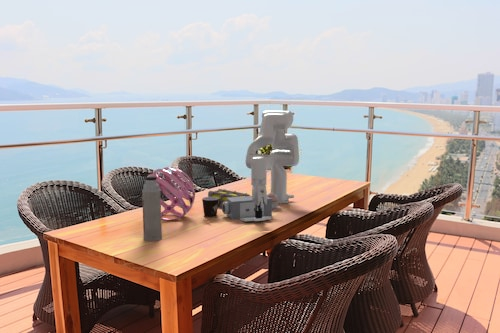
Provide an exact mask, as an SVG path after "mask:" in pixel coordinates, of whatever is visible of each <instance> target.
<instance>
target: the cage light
mask: <svg viewBox="0 0 500 333" xmlns="http://www.w3.org/2000/svg"><path fill="white" fill-rule="evenodd" d="M244 196H251V195H250V194H249V193H247V192H246V193H245V192H244V193H243V192H238V191H236V190H228V189H223V188H218V189H217V190H209V191H208V193H207V197H217V198H219V199H220V201H221V203H220V205H219V202H220V201H219V200H218V205H219V207H218V209H219V208H220V209H222V204H223V202H226V198H229V197H244Z"/></svg>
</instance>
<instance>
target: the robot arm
mask: <svg viewBox="0 0 500 333" xmlns="http://www.w3.org/2000/svg"><path fill="white" fill-rule="evenodd" d="M293 122H294V114H293V112H292V111H290V110H271V109H270V110H263V112H262V113H261V123H260V127H259V128H260V130H259V134H258V137H257V138H255V139H254V140H253V141H252V142H251V143H250V144H249V146H248V147H247V151H246V155H245V167H247V168H248V169H251V170H250V171H251V174H250V175H251V177H250V179H251V180H250V182H251V184H250V186H252V187H251V196H252V201H253V203H254V204H255V218H262V210H263V208H264V207H263V204H264V205H267V195H268V194H267V174H268V173H267V171H268V170H270V192H272V193H273V194H274V195H276V196H277V200H279V203H278V205H281V204H288V203H289V202H290V199H294V198H295V195H294V194H288V193H287V188H288V187H287V184H288V183H287V182H288V181H287V180H288V179H287V178H288V174H287V171H286V169H285V167H296V166H298V164H299V163H300V161H299V160H300V153H299V140H298V136H297V134H294V133H286V132H285V130H288V129H290V127H291V126H292V125H293ZM270 145H271V148H272V149H273V150H271V151H270V152H269V154H259V153H256V152H257V151H258V150H260V149H261V148H265V147H267V146H270Z"/></svg>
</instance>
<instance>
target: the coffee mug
mask: <svg viewBox="0 0 500 333" xmlns="http://www.w3.org/2000/svg"><path fill="white" fill-rule="evenodd" d="M201 199H202V207H203V208H202V209H203V215H204V218H205V219H206V218H215V217H217V216H218V209H219V205H220V203H221V201H220V199H219V198H217V197H208V196H205V197H202V198H201ZM218 200H219V201H220V202H219V205H218Z"/></svg>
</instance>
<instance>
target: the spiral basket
mask: <svg viewBox="0 0 500 333" xmlns="http://www.w3.org/2000/svg"><path fill="white" fill-rule="evenodd" d="M168 170H170V171H172V172H169V171H168ZM158 172H159V173H162V176H163V177H164V178H163V177H161V176H159V175H158ZM146 177H157V179H156V180H157V184H159V189H160V191H161V193H162V194H163V195H164V196H165V197H166V198H167V199H168V200H169V201H170V202H171V203H170V204H168V203H166V202H165V201H164V200H163V199H162V198H161V207H162V208H164V210H163V211H161V221H167V222H171V221H177V220H179V219H181V218H183V217H185V216H186V215H187V214H188V213H189V212H190V210H191V209H192V207H193V205H194V202H195V199H196V191H195V186H194V182H193V181H192V179H191V178H190V176H189V175H188V174H186V172H184V171H183V170H181V169H179V168H173V167H171V166H170V167H169V166H168V167H167V166H166V167H164V168H158V169H155V170H153V172H152V173H151V174H150V173H149V174H148V175H147V176H146ZM144 180H145V181H146V179H144ZM175 183H176V184H177V185H178V186H176V184H175ZM190 192H192V194H191V193H190ZM184 200H187V201H188V202H189V205H188V204H186V202H185V201H184ZM175 207H178V208H181V209H182V213H181V212H179V211H177V210H175ZM169 213H170V214H172V215H174V216H176V217H174V218H162V217H163V216H165V215H167V214H169Z"/></svg>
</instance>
